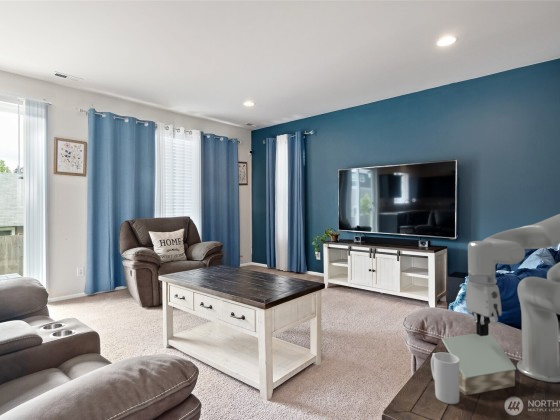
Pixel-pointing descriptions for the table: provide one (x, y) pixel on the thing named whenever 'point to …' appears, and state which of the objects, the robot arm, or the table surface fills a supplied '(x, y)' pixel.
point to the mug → (446, 377)
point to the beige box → (486, 382)
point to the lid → (478, 355)
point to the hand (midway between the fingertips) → (482, 334)
